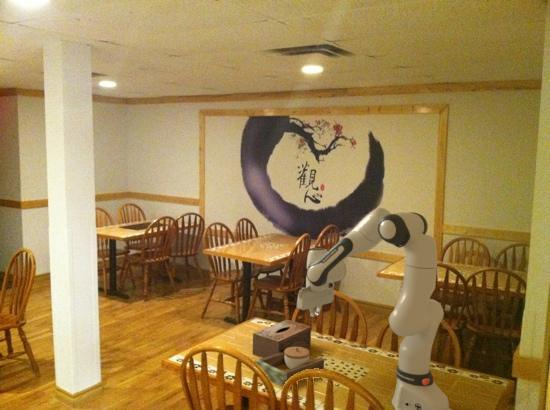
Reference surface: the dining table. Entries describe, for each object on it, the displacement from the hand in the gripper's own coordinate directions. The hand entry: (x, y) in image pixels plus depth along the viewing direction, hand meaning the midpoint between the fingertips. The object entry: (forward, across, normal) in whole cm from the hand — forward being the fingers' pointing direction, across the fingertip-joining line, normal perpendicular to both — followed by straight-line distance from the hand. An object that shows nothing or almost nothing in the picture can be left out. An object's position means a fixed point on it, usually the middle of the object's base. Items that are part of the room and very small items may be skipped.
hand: (314, 315), depth 216 cm
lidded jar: (+21, -10, 0) cm, 24 cm away
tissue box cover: (+22, -1, +19) cm, 29 cm away
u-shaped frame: (+21, -14, 0) cm, 25 cm away
